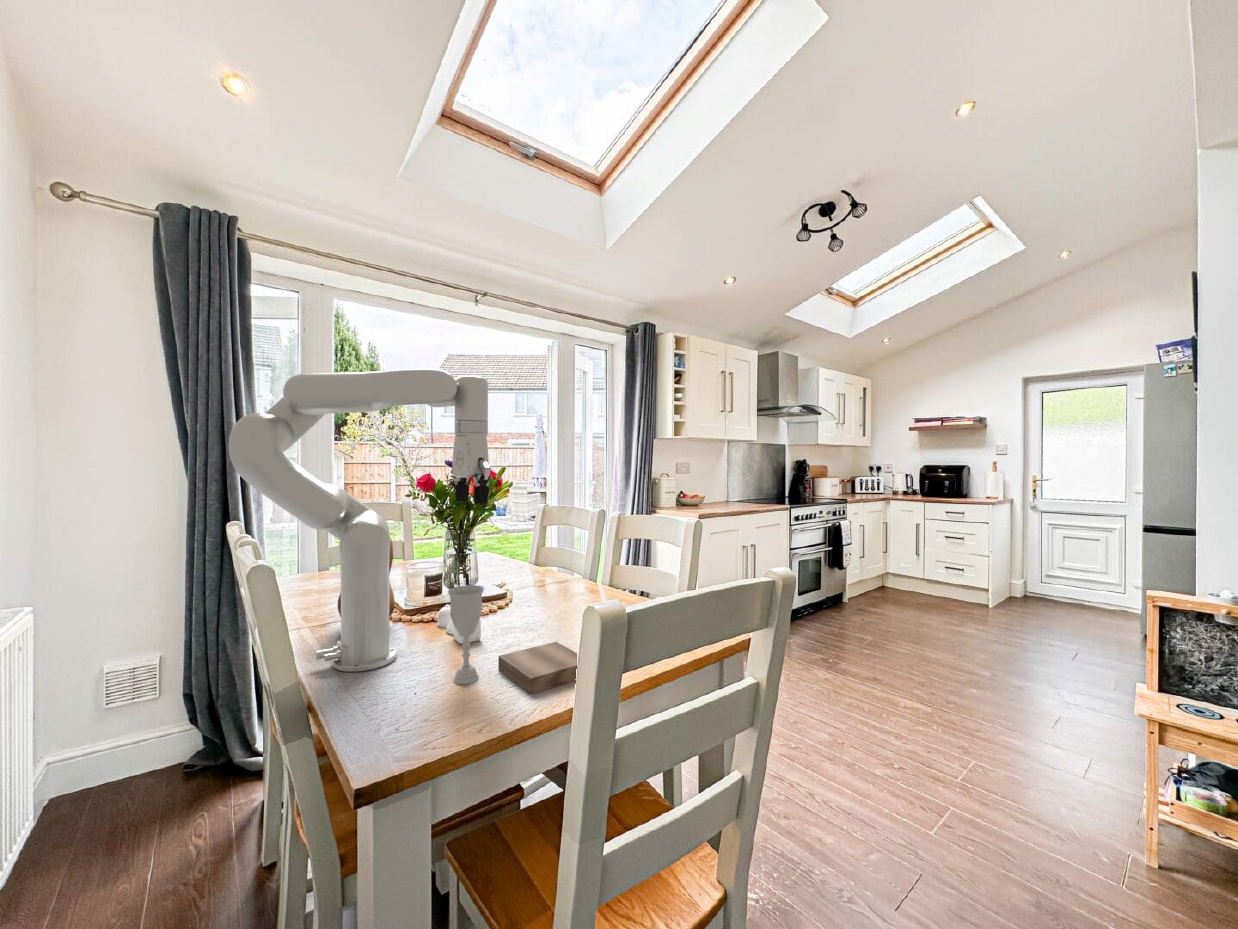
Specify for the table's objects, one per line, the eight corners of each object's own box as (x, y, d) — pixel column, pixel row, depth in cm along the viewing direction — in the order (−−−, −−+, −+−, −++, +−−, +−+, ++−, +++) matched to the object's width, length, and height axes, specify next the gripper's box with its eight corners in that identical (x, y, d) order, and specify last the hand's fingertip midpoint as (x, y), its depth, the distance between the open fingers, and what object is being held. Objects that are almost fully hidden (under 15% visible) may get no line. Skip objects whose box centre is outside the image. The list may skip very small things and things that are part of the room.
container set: (481, 641, 127) (481, 619, 127) (460, 646, 124) (460, 623, 124) (453, 620, 143) (454, 600, 143) (434, 624, 140) (434, 603, 140)
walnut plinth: (530, 694, 98) (530, 678, 98) (498, 670, 109) (498, 655, 109) (591, 675, 107) (591, 661, 107) (556, 654, 118) (556, 641, 118)
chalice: (463, 689, 100) (463, 596, 100) (439, 681, 104) (440, 591, 103) (491, 676, 106) (491, 588, 106) (468, 668, 110) (468, 583, 110)
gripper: (441, 430, 126) (440, 500, 126) (472, 427, 113) (472, 505, 113) (470, 431, 131) (469, 499, 131) (503, 428, 118) (503, 504, 118)
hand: (471, 502), depth 122 cm, fingers open, 9 cm apart
